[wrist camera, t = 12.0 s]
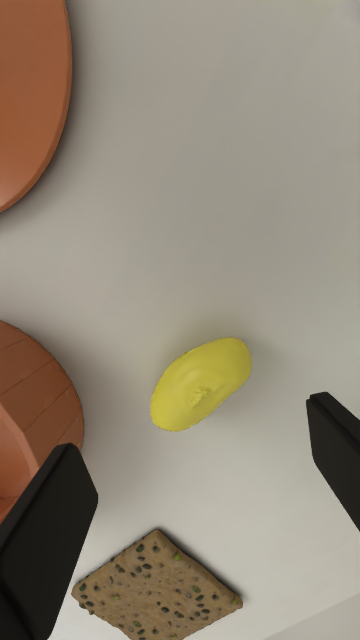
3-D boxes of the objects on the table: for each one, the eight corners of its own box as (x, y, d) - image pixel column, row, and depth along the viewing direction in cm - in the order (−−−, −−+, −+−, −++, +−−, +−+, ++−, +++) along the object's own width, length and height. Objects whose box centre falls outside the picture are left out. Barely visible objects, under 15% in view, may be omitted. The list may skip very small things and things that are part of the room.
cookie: (157, 648, 24) (155, 663, 23) (70, 586, 22) (65, 601, 21) (245, 599, 21) (247, 614, 20) (156, 526, 20) (155, 539, 19)
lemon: (258, 359, 16) (280, 389, 12) (172, 419, 17) (167, 462, 13) (223, 315, 15) (235, 331, 11) (136, 380, 17) (120, 414, 13)
